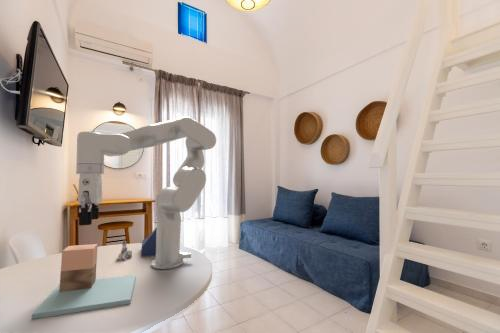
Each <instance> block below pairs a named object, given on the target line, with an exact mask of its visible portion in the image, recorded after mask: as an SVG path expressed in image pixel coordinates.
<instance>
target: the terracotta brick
mask: <svg viewBox="0 0 500 333" xmlns="http://www.w3.org/2000/svg"><path fill="white" fill-rule="evenodd" d="M98 247H99V246H98V243H92V244H79V245H77V244H75V245H68V246H67V247H65V248H64V249H63V250H62V251H61V266H60V272H61V271H70V270H80V269H90V268H93V267H94V265H95V264H96V265H97V263H98V262H97V261H98ZM96 262H97V263H96Z"/></svg>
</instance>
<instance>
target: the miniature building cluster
mask: <svg viewBox="0 0 500 333" xmlns="http://www.w3.org/2000/svg"><path fill="white" fill-rule="evenodd" d="M121 246H122V247H121V249H120V252H119V253H118V256H117V257H116V259H115V261H116V262H117V261H119V262H120V261H126V260H127V259H131V258H132V256H133V251H132V250H130V249H129V250H128V247H127V241H126V240H122V243H121Z"/></svg>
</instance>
